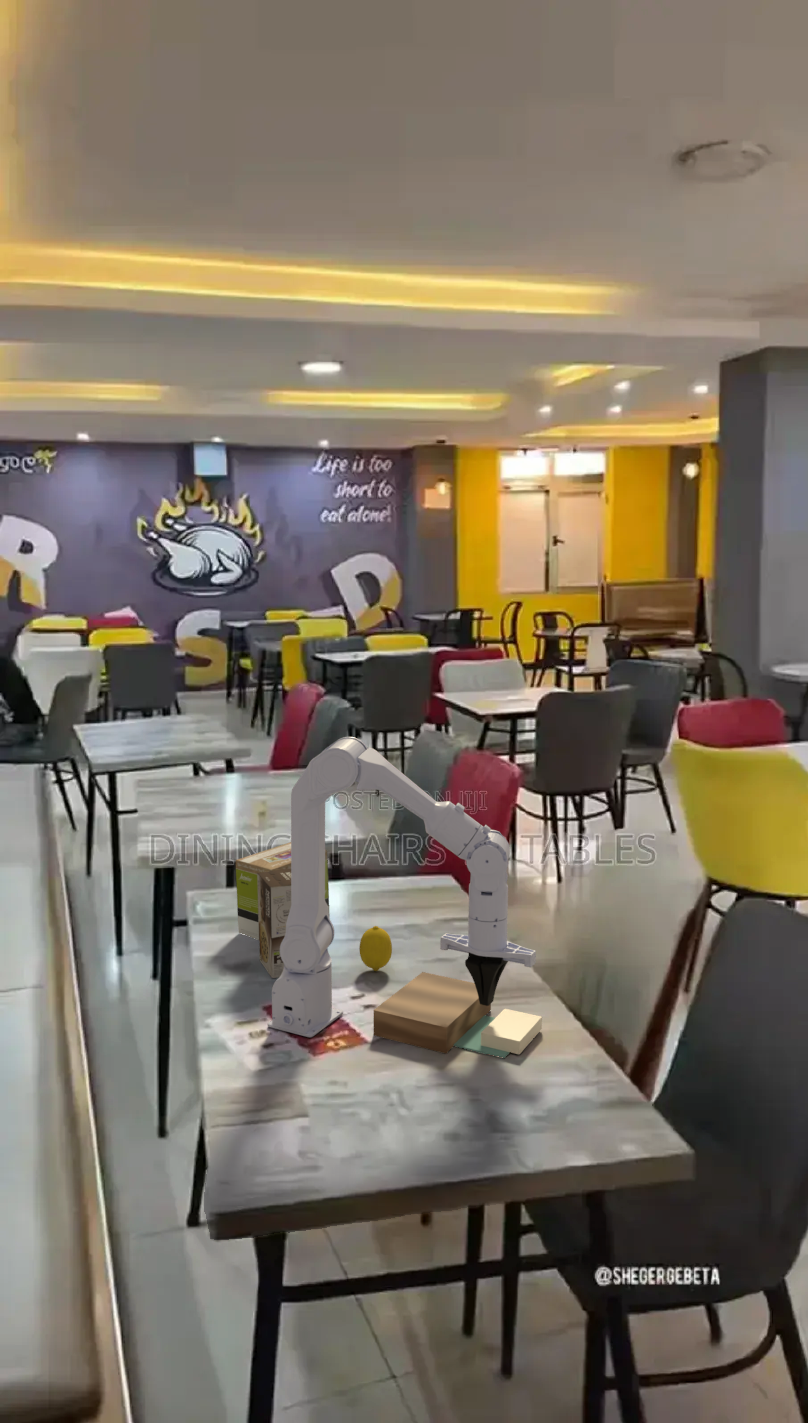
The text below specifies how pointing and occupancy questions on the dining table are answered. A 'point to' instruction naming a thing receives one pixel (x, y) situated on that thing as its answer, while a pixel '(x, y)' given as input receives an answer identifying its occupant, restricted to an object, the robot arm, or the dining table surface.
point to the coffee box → (273, 917)
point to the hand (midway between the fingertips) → (486, 1002)
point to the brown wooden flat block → (430, 1012)
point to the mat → (479, 1039)
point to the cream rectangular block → (511, 1031)
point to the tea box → (249, 887)
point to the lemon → (375, 948)
